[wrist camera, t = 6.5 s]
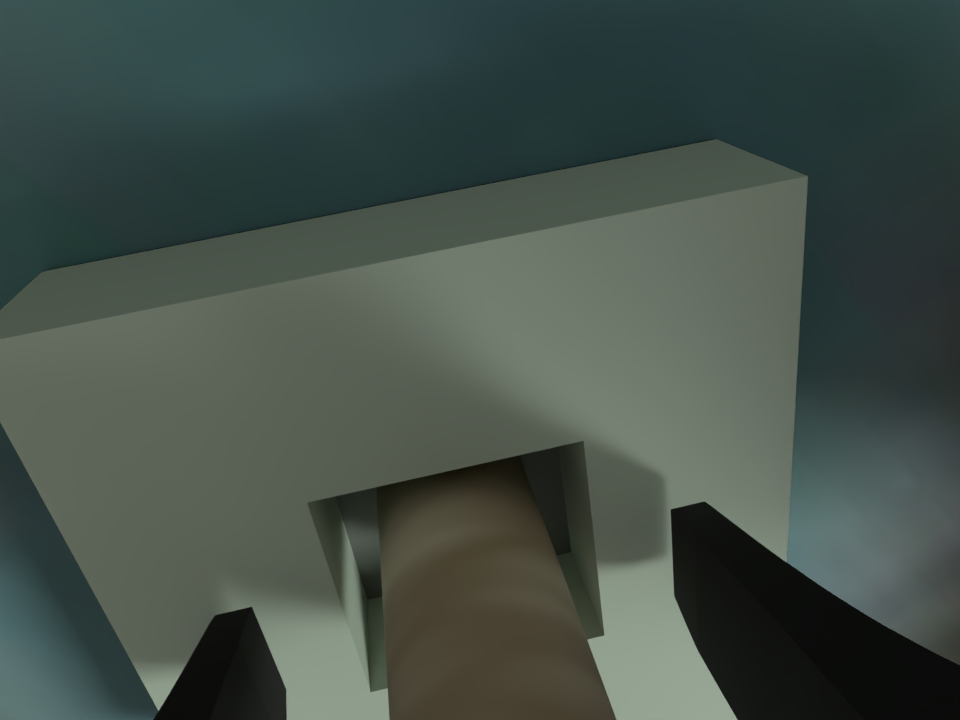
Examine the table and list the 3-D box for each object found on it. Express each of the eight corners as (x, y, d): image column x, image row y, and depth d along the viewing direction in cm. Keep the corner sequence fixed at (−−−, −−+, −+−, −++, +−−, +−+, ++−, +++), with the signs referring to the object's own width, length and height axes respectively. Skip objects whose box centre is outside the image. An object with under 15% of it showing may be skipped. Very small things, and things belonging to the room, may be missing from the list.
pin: (525, 411, 15) (656, 725, 8) (519, 530, 16) (629, 876, 10) (371, 422, 14) (390, 762, 8) (380, 544, 15) (402, 916, 9)
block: (716, 139, 13) (807, 176, 11) (717, 611, 19) (777, 713, 16) (41, 271, 12) (-41, 348, 10) (252, 725, 18) (235, 851, 15)
